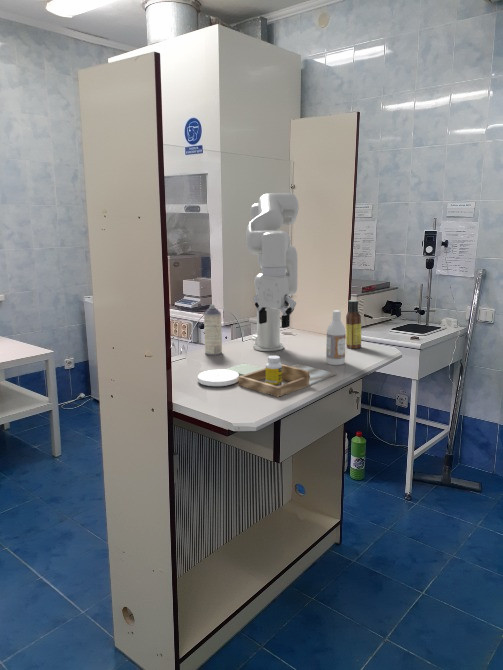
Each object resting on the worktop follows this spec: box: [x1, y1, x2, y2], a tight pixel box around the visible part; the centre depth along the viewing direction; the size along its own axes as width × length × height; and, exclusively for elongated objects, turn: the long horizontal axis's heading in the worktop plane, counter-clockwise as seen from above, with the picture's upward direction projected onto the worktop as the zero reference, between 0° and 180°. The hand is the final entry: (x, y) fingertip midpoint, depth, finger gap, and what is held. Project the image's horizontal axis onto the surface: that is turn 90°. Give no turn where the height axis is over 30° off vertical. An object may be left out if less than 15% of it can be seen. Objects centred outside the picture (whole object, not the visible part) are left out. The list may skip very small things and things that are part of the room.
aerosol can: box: [203, 304, 223, 357], centre depth 216 cm, size 7×7×20 cm
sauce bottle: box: [345, 299, 362, 350], centre depth 223 cm, size 6×6×20 cm
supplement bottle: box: [265, 355, 283, 386], centre depth 177 cm, size 5×5×10 cm
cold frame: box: [238, 361, 337, 398], centre depth 183 cm, size 17×31×5 cm, turn 136°
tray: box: [225, 363, 265, 376], centre depth 191 cm, size 12×10×2 cm
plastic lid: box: [197, 368, 239, 387], centre depth 183 cm, size 14×14×2 cm
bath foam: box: [325, 309, 346, 366], centre depth 200 cm, size 7×7×20 cm
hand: (274, 325), depth 173 cm, fingers open, 9 cm apart
